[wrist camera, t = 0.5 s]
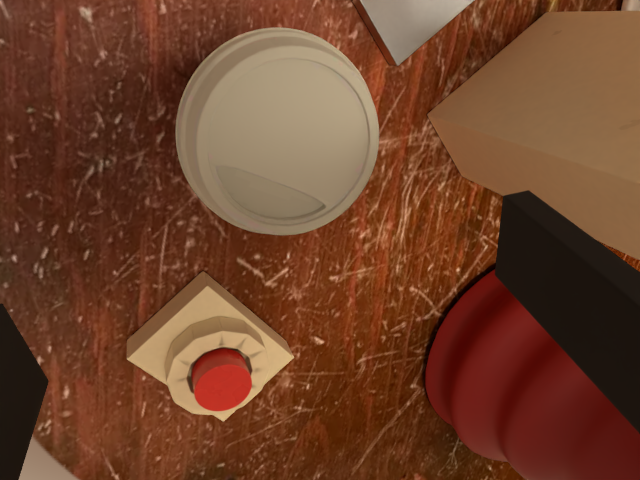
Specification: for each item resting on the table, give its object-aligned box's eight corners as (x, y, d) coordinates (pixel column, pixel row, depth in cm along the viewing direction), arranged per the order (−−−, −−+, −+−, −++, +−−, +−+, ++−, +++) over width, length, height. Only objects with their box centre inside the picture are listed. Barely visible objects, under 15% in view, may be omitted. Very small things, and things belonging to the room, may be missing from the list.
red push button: (179, 376, 31) (181, 394, 30) (220, 338, 31) (225, 354, 30) (218, 402, 33) (222, 420, 32) (257, 366, 33) (263, 383, 32)
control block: (126, 340, 33) (126, 377, 30) (202, 270, 33) (211, 299, 30) (218, 401, 38) (227, 440, 34) (286, 340, 38) (301, 373, 34)
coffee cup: (128, 82, 27) (127, 121, 17) (253, -7, 27) (328, -22, 17) (220, 197, 31) (265, 285, 21) (327, 120, 32) (423, 168, 22)
